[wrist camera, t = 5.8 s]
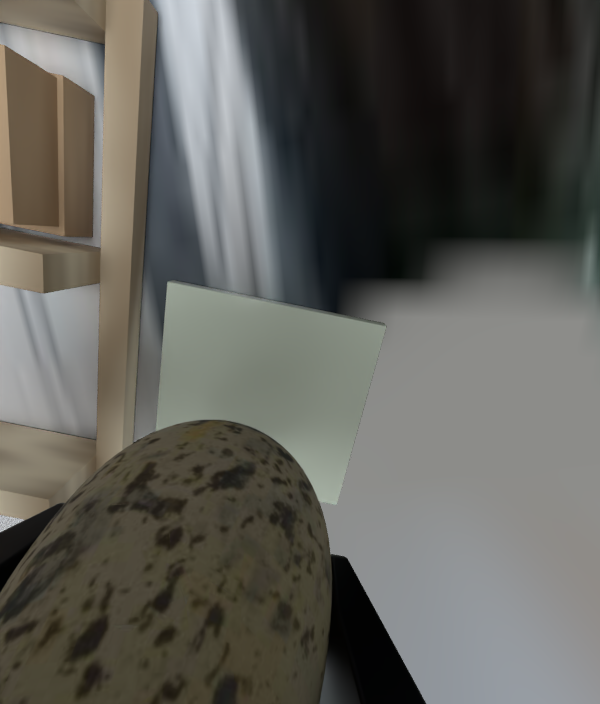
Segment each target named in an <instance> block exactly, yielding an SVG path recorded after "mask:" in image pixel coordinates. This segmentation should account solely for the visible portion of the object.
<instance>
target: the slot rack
mask: <svg viewBox="0 0 600 704" xmlns="http://www.w3.org/2000/svg"><path fill="white" fill-rule="evenodd" d="M157 19H158V13H157V11H156V10H155V8H154V7H153V6H152V4H151V3H150V1H149V0H0V22H2V23H6V24H11V25H16V26H21V27H25V28H30V29H35V30H40V31H44V32H49V33H54V34H59V35H63V36H68V37H73V38H78V39H82V40H87V41H92V42H97V43H101V44H105V75H104V120H103V166H102V212H101V248H98V247H93V246H88V245H83V244H78V243H73V242H68V241H63V240H58V239H53V238H49V237H44V236H39V235H34V234H29V233H24V232H19V231H14V230H9V229H5V228H0V285H5V286H9V287H14V288H19V289H24V290H29V291H34V292H39V293H48V292H54V291H59V290H64V289H70V288H75V287H80V286H85V285H91V284H96V283H100V303H99V349H98V395H97V440H92V439H87V438H82V437H77V436H72V435H67V434H62V433H56V432H51V431H46V430H41V429H36V428H31V427H26V426H21V425H16V424H11V423H6V422H1V421H0V515H4V516H9V517H14V518H20V519H25V520H26V519H28V518H30V517H32V516H34V515H36V514H38V513H40V512H42V511H44V510H46V509H48V508H50V507H52V506H54V505H56V504H58V503H66V501H67V500H68V499H69V498H70V497H71V496H72V495H73V494H74V493H75V492H76V490H77V489H78V488H79V487H80V486H81V485H82V484H83V483H84V482H85V481H86V480H87V479H88V478H89V477H90V476H91V475H92V474H93V473H94V472H96V471H97V470H98V469H99V468H100V467H101V466H103V465H104V464H105V463H106V462H107V461H109V460H110V459H111V458H112V457H114V456H115V455H116V454H118V453H119V452H120V451H122V450H123V449H125V448H126V447H128V446H129V445H131V444H133V432H134V415H135V398H136V380H137V363H138V346H139V329H140V312H141V294H142V277H143V260H144V243H145V225H146V208H147V191H148V174H149V157H150V139H151V122H152V105H153V88H154V71H155V53H156V36H157Z"/></svg>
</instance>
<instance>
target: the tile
mask: <svg viewBox="0 0 600 704" xmlns="http://www.w3.org/2000/svg"><path fill="white" fill-rule="evenodd" d="M386 327H387V326H386V325H385V324H384V323H381V322H376V321H371V320H366V319H361V318H356V317H351V316H347V315H342V314H337V313H332V312H327V311H322V310H317V309H312V308H307V307H302V306H298V305H293V304H288V303H283V302H278V301H273V300H268V299H263V298H258V297H253V296H248V295H244V294H239V293H234V292H229V291H224V290H219V289H214V288H209V287H204V286H199V285H194V284H190V283H185V282H180V281H175V280H172V281H168V282H167V294H166V307H165V319H164V332H163V344H162V357H161V369H160V382H159V395H158V407H157V420H156V431H158V430H161V429H163V428H166V427H169V426H172V425H175V424H179V423H184V422H189V421H196V420H226V421H232V422H237V423H240V424H244V425H247V426H250V427H252V428H255V429H257V430H259V431H261V432H263V433H265V434H266V435H268V436H270V437H271V438H273V439H274V440H275V441H277V442H278V443H279V444H281V445H282V446H283V447H284V448H285V449H286V450H287V451H288V452H289V453H290V454H291V455H292V456H293V457H294V458H295V460H296V461H297V462H298V464H299V465H300V466H301V468H302V469H303V470H304V472H305V474H306V475H307V477H308V479H309V481H310V482H311V484H312V486H313V489H314V491H315V493H316V496H317V498H318V501H319V502H323V503H328V504H333V505H337V503H338V499H339V495H340V492H341V488H342V485H343V481H344V477H345V474H346V470H347V467H348V463H349V460H350V456H351V453H352V449H353V445H354V442H355V438H356V434H357V431H358V427H359V424H360V420H361V417H362V413H363V410H364V406H365V402H366V399H367V395H368V391H369V388H370V384H371V381H372V377H373V374H374V370H375V366H376V363H377V359H378V356H379V352H380V349H381V345H382V341H383V338H384V334H385V331H386Z"/></svg>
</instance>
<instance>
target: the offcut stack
mask: <svg viewBox="0 0 600 704" xmlns="http://www.w3.org/2000/svg"><path fill="white" fill-rule="evenodd" d="M93 166H94V95H92V94H90V93H89V92H87V91H86V90H84V89H83V88H81V87H80V86H78V85H77V84H75V83H74V82H72V81H70V80H69V79H67V78H66V77H64V76H62V75H57V74H52V73H48V72H46V71H45V70H43V69H42V68H40V67H38V66H37V65H35V64H34V63H32V62H30V61H29V60H27V59H26V58H24V57H22V56H21V55H19V54H18V53H16V52H14V51H13V50H11V49H10V48H8V47H6V46H5V45H1V44H0V223H1V224H5V225H10V226H15V227H20V228H25V229H30V230H35V231H40V232H45V233H50V234H55V235H60V236H66V237H93Z"/></svg>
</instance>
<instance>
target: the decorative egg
mask: <svg viewBox="0 0 600 704" xmlns="http://www.w3.org/2000/svg"><path fill="white" fill-rule="evenodd" d="M331 606H332V570H331V556H330V547H329V538H328V533H327V528H326V523H325V519H324V516H323V512H322V509H321V506H320V503H319V501H318V498H317V496H316V493H315V491H314V489H313V486H312V484H311V482H310V481H309V479H308V477H307V475H306V474H305V472H304V470H303V469H302V468H301V466H300V465H299V464H298V462H297V461H296V460H295V458H294V457H293V456H292V455H291V454H290V453H289V452H288V451H287V450H286V449H285V448H284V447H283V446H282V445H281V444H279V443H278V442H277V441H275V440H274V439H273V438H271V437H270V436H268V435H266V434H265V433H263V432H261V431H259V430H257V429H255V428H252V427H250V426H247V425H244V424H240V423H237V422H232V421H226V420H196V421H189V422H184V423H179V424H175V425H172V426H169V427H166V428H163V429H161V430H158V431H156V432H153V433H151V434H149V435H147V436H145V437H143V438H141V439H139V440H138V441H136V442H134V443H133V444H131V445H129V446H128V447H126V448H125V449H123V450H122V451H120V452H119V453H118V454H116V455H115V456H114V457H112V458H111V459H110V460H109V461H107V462H106V463H105V464H104V465H103V466H101V467H100V468H99V469H98V470H97V471H96V472H94V473H93V474H92V475H91V476H90V477H89V478H88V479H87V480H86V481H85V482H84V483H83V484H82V485H81V486H80V487H79V488H78V489H77V490H76V492H75V493H74V494H73V495H72V496H71V497H70V498H69V499H68V500H67V501H66V503H65V504H64V505H63V506H62V507H61V509H60V510H59V511H58V512H57V513H56V514H55V516H54V517H53V518H52V519H51V521H50V522H49V523H48V525H47V526H46V527H45V529H44V530H43V531H42V533H41V534H40V535H39V537H38V538H37V539H36V540H35V542H34V543H33V545H32V546H31V547H30V549H29V550H28V552H27V553H26V554H25V556H24V557H23V559H22V560H21V561H20V563H19V564H18V566H17V567H16V569H15V570H14V572H13V573H12V575H11V576H10V578H9V579H8V581H7V583H6V584H5V586H4V587H3V589H2V591H1V592H0V704H319V703H320V698H321V692H322V686H323V680H324V674H325V667H326V659H327V652H328V644H329V633H330V622H331Z"/></svg>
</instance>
